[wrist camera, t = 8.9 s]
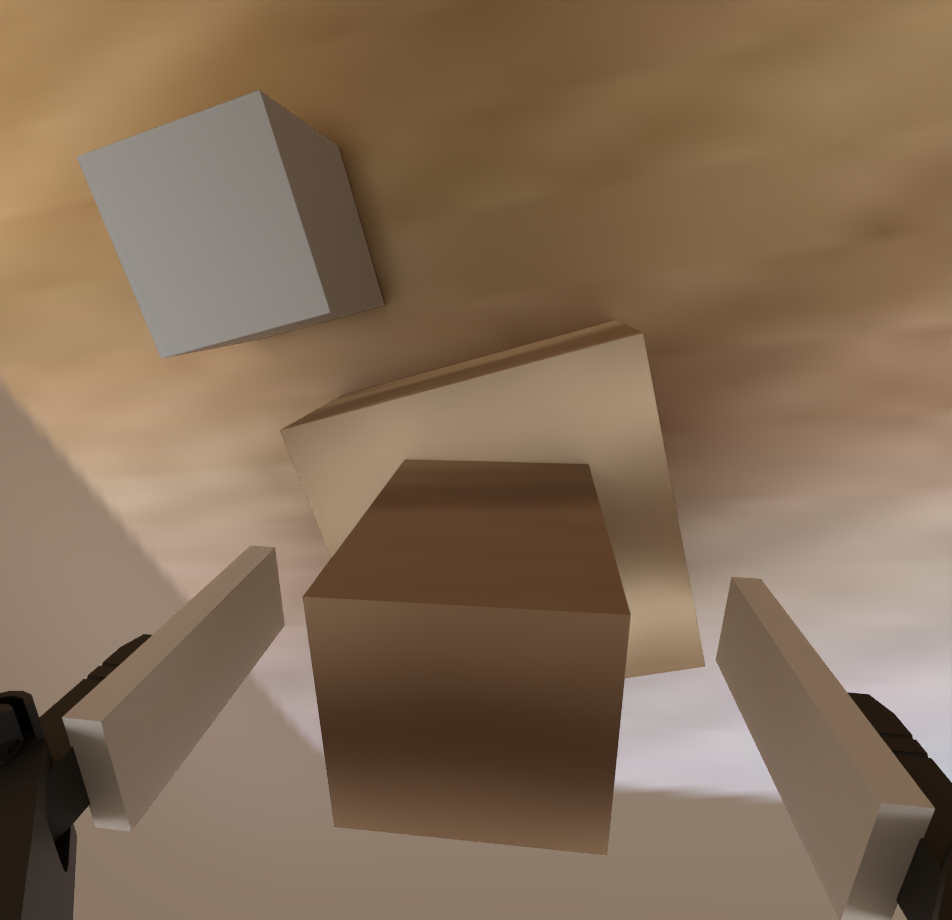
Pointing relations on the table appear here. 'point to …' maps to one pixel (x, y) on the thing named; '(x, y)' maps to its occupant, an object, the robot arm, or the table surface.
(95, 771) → the robot arm
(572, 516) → the walnut block
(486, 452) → the birch block
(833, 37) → the table surface
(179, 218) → the slate cube
